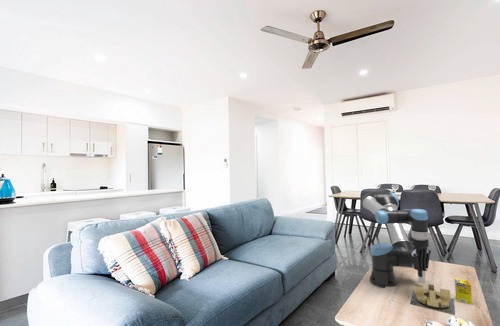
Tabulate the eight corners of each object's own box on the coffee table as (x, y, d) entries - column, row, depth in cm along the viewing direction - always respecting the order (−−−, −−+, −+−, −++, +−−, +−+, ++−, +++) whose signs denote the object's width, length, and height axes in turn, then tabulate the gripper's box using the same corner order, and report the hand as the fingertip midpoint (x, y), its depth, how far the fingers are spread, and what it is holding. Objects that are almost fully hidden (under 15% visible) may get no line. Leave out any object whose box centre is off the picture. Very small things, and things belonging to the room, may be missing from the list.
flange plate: (410, 306, 130) (409, 298, 131) (413, 292, 145) (413, 285, 145) (455, 317, 120) (454, 309, 120) (454, 301, 134) (453, 293, 134)
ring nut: (414, 290, 143) (414, 278, 143) (448, 297, 134) (448, 284, 135) (414, 303, 130) (414, 290, 130) (452, 311, 122) (451, 297, 122)
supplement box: (472, 306, 128) (471, 284, 128) (457, 303, 131) (456, 282, 132) (470, 301, 133) (469, 280, 133) (455, 298, 136) (454, 278, 137)
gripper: (418, 242, 132) (420, 287, 132) (435, 238, 136) (437, 282, 136) (404, 238, 139) (406, 281, 139) (421, 235, 143) (423, 277, 143)
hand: (421, 282), depth 137 cm, fingers closed
